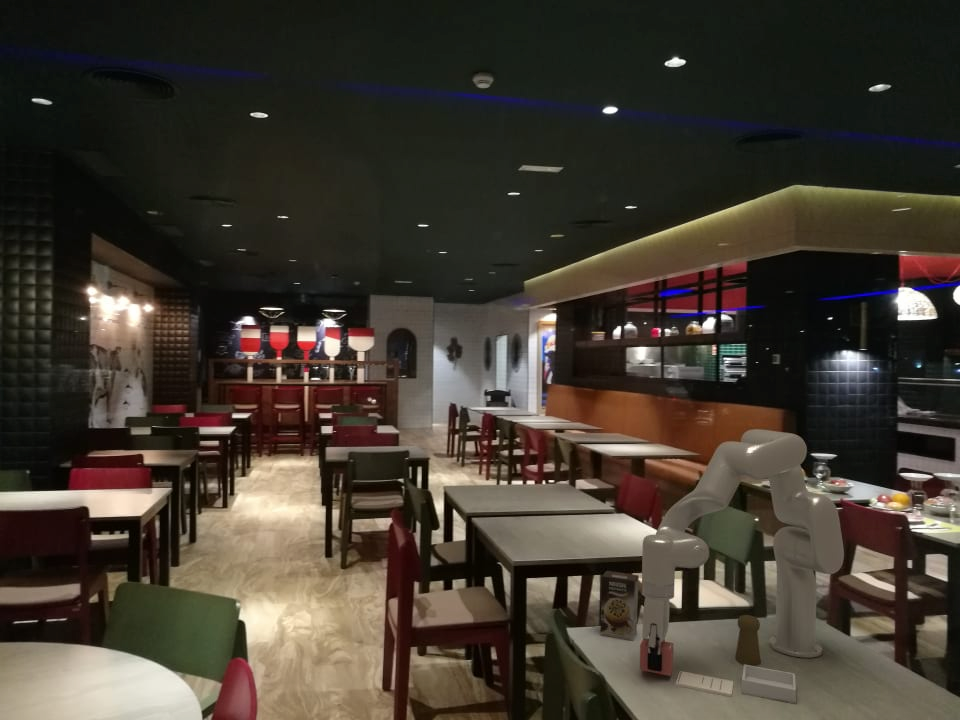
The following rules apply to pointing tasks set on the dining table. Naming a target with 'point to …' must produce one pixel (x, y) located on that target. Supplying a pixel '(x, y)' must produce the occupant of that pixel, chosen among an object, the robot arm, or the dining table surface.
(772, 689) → the tray
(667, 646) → the red block with stripe
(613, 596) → the coffee box
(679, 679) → the ticket
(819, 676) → the dining table surface
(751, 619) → the cork
